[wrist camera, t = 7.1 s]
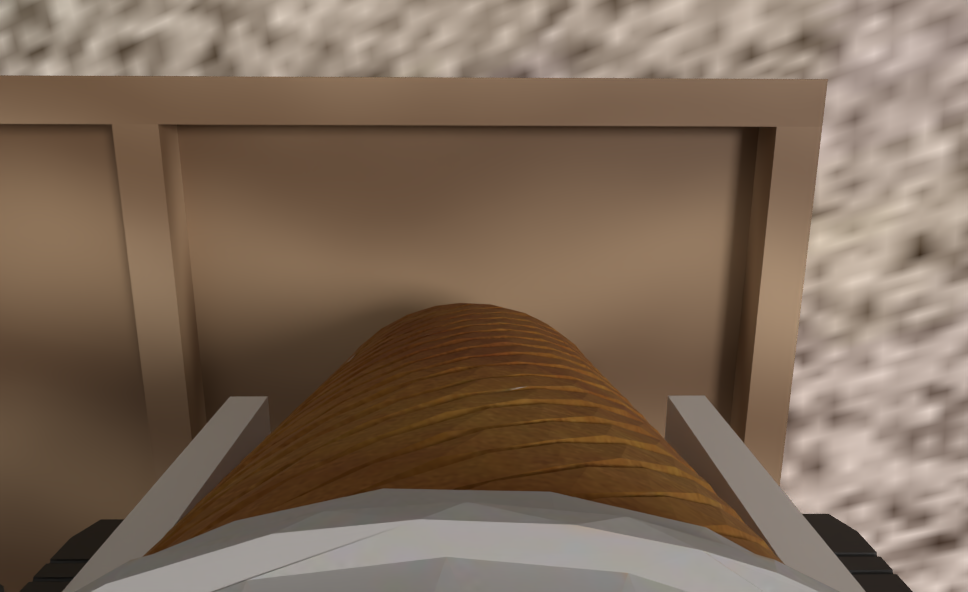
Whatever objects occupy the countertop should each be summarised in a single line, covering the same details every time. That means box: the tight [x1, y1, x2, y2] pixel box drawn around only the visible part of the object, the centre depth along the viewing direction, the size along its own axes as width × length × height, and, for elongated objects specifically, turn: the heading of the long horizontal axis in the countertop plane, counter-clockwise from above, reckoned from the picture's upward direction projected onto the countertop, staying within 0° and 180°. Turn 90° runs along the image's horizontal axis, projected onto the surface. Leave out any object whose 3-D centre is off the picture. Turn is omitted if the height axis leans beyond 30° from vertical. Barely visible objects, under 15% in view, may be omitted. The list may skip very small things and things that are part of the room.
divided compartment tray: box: [0, 76, 828, 592], centre depth 18 cm, size 15×26×2 cm, turn 90°
